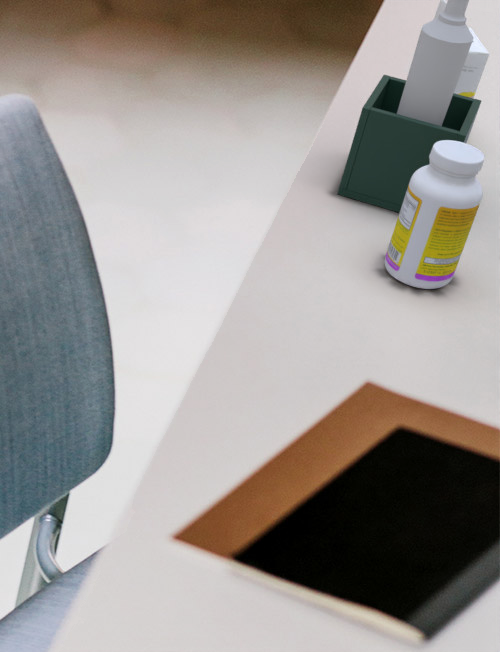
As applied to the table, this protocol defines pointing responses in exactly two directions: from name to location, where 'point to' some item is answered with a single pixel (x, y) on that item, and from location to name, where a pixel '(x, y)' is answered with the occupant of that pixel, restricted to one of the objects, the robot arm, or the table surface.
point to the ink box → (469, 63)
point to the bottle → (437, 65)
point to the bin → (397, 144)
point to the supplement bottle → (436, 216)
